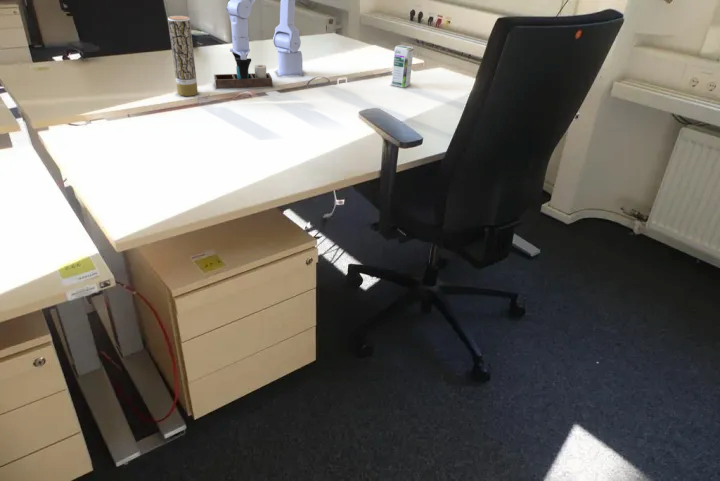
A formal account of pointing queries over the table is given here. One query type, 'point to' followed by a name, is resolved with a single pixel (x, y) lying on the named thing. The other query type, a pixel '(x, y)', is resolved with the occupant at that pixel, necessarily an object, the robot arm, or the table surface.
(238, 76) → the paper roll
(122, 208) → the table surface
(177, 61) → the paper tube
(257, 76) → the roll
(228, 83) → the rack
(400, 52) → the syrup box
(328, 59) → the table surface
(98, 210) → the table surface
